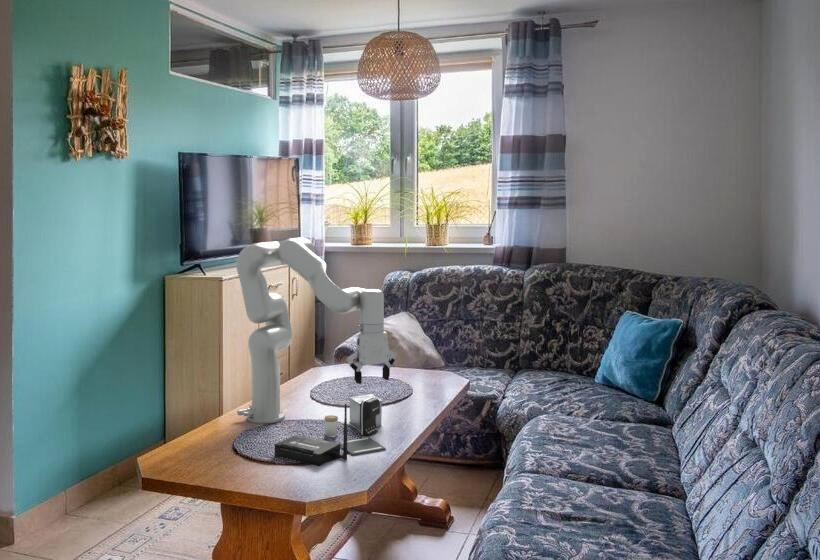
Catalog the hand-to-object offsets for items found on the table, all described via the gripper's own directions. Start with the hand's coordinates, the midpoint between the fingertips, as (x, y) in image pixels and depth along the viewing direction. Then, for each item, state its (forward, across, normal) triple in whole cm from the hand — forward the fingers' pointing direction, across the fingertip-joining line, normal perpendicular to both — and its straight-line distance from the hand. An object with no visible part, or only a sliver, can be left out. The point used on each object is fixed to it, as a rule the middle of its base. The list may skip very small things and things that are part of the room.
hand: (372, 381), depth 228 cm
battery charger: (+18, 0, +1) cm, 18 cm away
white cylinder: (+17, -12, +5) cm, 22 cm away
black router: (+18, -24, -10) cm, 32 cm away
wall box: (+17, +2, +11) cm, 20 cm away
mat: (+17, -8, -9) cm, 22 cm away
